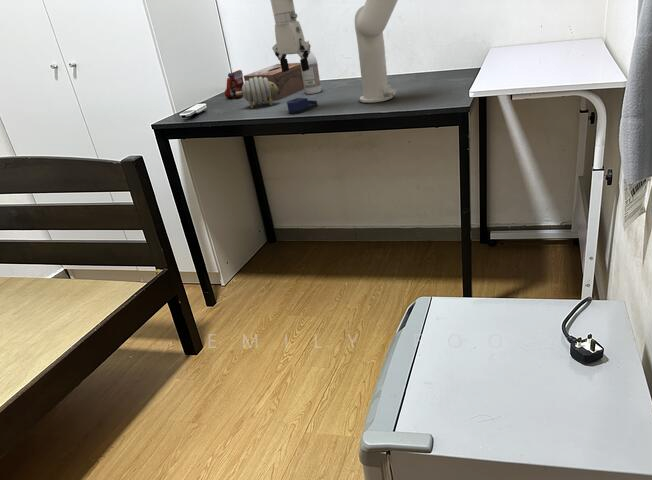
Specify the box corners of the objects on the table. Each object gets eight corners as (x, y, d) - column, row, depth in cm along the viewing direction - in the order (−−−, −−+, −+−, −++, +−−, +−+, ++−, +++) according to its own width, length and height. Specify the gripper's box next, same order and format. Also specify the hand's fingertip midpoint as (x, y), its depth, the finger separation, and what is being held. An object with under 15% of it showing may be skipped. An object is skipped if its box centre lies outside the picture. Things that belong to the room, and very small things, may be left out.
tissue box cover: (281, 87, 255) (277, 63, 250) (308, 86, 249) (304, 62, 244) (248, 100, 236) (243, 75, 231) (276, 100, 230) (272, 74, 225)
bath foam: (322, 92, 233) (315, 40, 223) (306, 95, 232) (298, 43, 222) (319, 89, 239) (312, 39, 228) (304, 92, 238) (295, 41, 227)
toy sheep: (282, 104, 220) (277, 75, 215) (240, 112, 217) (233, 82, 212) (278, 100, 229) (273, 71, 224) (238, 107, 226) (231, 78, 221)
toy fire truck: (223, 100, 243) (217, 75, 238) (239, 93, 253) (233, 69, 248) (236, 99, 241) (230, 74, 235) (251, 93, 250) (246, 68, 245)
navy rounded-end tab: (307, 105, 214) (306, 94, 212) (317, 105, 211) (316, 95, 209) (286, 113, 206) (284, 102, 203) (296, 114, 203) (294, 103, 201)
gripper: (311, 14, 190) (320, 67, 199) (274, 18, 199) (285, 69, 208) (296, 18, 185) (307, 72, 194) (260, 22, 194) (271, 73, 203)
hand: (295, 70), depth 201 cm, fingers open, 9 cm apart
